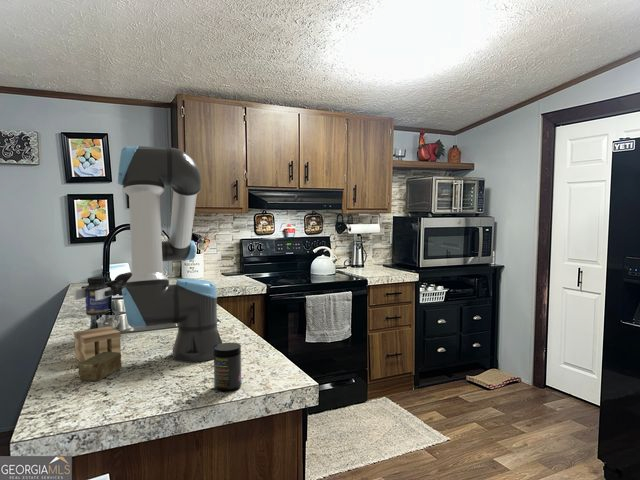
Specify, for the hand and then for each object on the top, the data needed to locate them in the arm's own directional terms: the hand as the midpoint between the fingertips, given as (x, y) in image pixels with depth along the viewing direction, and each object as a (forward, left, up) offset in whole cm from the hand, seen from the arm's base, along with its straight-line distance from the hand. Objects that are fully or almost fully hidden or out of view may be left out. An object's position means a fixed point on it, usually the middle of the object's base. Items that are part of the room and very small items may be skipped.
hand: (85, 295), depth 127 cm
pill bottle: (+3, -4, -7) cm, 8 cm away
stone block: (-13, +1, -20) cm, 24 cm away
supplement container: (-46, -18, -20) cm, 53 cm away
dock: (+2, -3, -20) cm, 20 cm away
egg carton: (+42, -20, -20) cm, 51 cm away
